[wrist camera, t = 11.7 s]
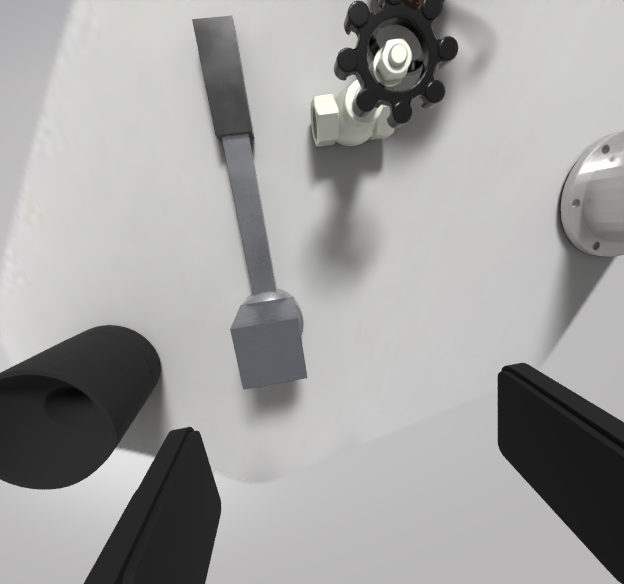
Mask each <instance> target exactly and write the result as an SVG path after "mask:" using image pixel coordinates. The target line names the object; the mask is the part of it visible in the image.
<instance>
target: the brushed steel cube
mask: <svg viewBox="0 0 624 584" xmlns="http://www.w3.org/2000/svg"><path fill="white" fill-rule="evenodd" d="M230 330H231V335H232V339H233V344H234V349H235V353H236V358H237V362H238V367H239V372H240V376H241V381H242V385H243V389H249V388H254V387H260V386H265V385H271V384H276V383H282V382H287V381H293V380H298V379H304V378H307V373H306V366H305V360H304V353H303V347H302V340H301V334H300V327H299V321H298V315H297V310H296V306H295V301H294V297H289V298H282V299H276V300H270V301H264V302H257V303H251V304H245V305H241V306H240V308H239V311H238V313H237V315H236V317H235V320H234V322H233V324H232V327H231V329H230Z"/></svg>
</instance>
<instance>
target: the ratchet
mask: <svg viewBox="0 0 624 584" xmlns="http://www.w3.org/2000/svg"><path fill="white" fill-rule="evenodd" d="M192 21H193V26H194V31H195V36H196V41H197V45H198V50H199V55H200V60H201V65H202V70H203V75H204V80H205V85H206V90H207V95H208V100H209V104H210V109H211V114H212V119H213V124H214V129H215V134H216V136H217V138H218V139H219V141H220V142H222V141H223V146H224V151H225V156H226V161H227V166H228V171H229V176H230V181H231V186H232V191H233V196H234V201H235V206H236V211H237V216H238V221H239V226H240V231H241V236H242V241H243V246H244V251H245V256H246V261H247V266H248V271H249V276H250V281H251V286H252V291H253V294H252V295H250V296H249V297H248V298H247V299H246V300H245V302H244V303H243V305H245V304H251V303H257V302H264V301H270V300H276V299H282V298H289V297H292V296H291V295H290V294H288V293H287V292H285V291H282V290H279V289H276V283H275V277H274V272H273V266H272V261H271V255H270V249H269V244H268V238H267V232H266V227H265V221H264V216H263V210H262V204H261V199H260V193H259V187H258V182H257V176H256V171H255V165H254V159H253V154H252V148H251V142H250V138H254V133H253V128H252V122H251V116H250V110H249V105H248V99H247V93H246V87H245V82H244V76H243V70H242V65H241V59H240V53H239V47H238V42H237V36H236V30H235V26H234V21H233V17H232V16H224V17H213V18H202V19H192ZM294 301H295V306H296V310H297V315H298V321H299V327H300V334H301V335H302V332H303V317H302V313H301V309H300V307H299V305H298V303H297V301H296V300H295V299H294Z"/></svg>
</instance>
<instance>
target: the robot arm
mask: <svg viewBox="0 0 624 584" xmlns="http://www.w3.org/2000/svg"><path fill="white" fill-rule="evenodd" d="M561 220H562V224H563V228H564V231H565V233H566V235H567V237H568V238H569V240H570V241H571V242H572V243H573V245H574V246H576V247H577V248H578V249H580V250H581V251H583V252H585V253H588V254H590V255H596V256H606V257H613V256H619V255H623V254H624V131H622V132H618V133H615V134H612V135H609V136H606V137H605V138H603V139H601V140H600V141H598V142H596V143H595V144H594V145H592V146H591V147H590V148H589V149H588V150H587V151H586V152H585V153H584V154H583V155H582V156H581V157H580V158H579V160H578V161H577V162H576V164H575V166H574V167H573V169H572V170H571V172H570V174H569V176H568V179H567V181H566V183H565V186H564V190H563V194H562V200H561ZM498 446H499V449H500V451H501V453H502V454H503V456H504V457H505V458H506V459H507V460H508V461H509V462H510V463H511V465H512V466H513V467H514V468H515V469H516V470H517V471H518V472H519V473H520V475H521V476H522V477H523V478H524V479H525V480H526V481H527V482H528V483H529V484H530V485H531V486H532V488H534V490H535V491H536V492H537V493H538V494H539V495H540V496H541V498H542V499H543V500H544V501H545V502H546V503H547V504H548V505H549V506H550V507H551V508H552V510H553V511H554V512H555V513H556V514H557V515H558V516H559V517H560V518H561V519H562V521H563V522H564V523H565V524H566V525H567V526H568V527H569V528H570V529H571V530H572V531H573V533H574V534H575V535H576V536H577V537H578V538H579V539H580V540H581V541H582V542H583V543H584V545H586V547H587V548H588V549H589V550H590V551H591V552H592V553H593V554H594V556H595V557H596V558H597V559H598V560H599V561H600V562H601V563H602V564H603V565H604V567H605V568H606V569H607V570H608V571H609V572H610V573H611V574H612V575H613V576H614V577H615V578H616V579H617V580H618V581H619V582H620V583H622V584H624V422H622V421H621V420H619V419H617V418H616V417H614V416H612V415H611V414H609V413H607V412H606V411H604V410H602V409H601V408H599V407H597V406H596V405H594V404H592V403H590V402H589V401H587V400H586V399H584V398H582V397H581V396H579V395H578V394H576V393H574V392H572V391H571V390H569V389H567V388H566V387H564V386H563V385H561V384H559V383H558V382H556V381H554V380H553V379H551V378H549V377H548V376H546V375H544V374H543V373H541V372H539V371H538V370H536V369H534V368H533V367H531V366H530V365H528V364H526V363H518V364H513V365H508V366H504V367H503V368H502V371H501V372H500V373H499V374H498ZM220 515H221V500H220V496H219V493H218V490H217V487H216V483H215V480H214V477H213V474H212V470H211V467H210V464H209V461H208V457H207V454H206V451H205V447H204V444H203V441H202V438H201V435H200V432H199V431H194V429H193V428H192V427H187V428H182V429H177V430H172V431H170V432H169V434H168V435H167V437H166V439H165V441H164V443H163V444H162V446H161V448H160V450H159V452H158V453H157V455H156V457H155V459H154V461H153V462H152V464H151V466H150V468H149V470H148V471H147V473H146V475H145V477H144V479H143V481H142V482H141V484H140V486H139V488H138V489H137V490H136V492H135V493H134V495H133V496H132V498H131V500H130V502H129V503H128V505H127V507H126V509H125V511H124V513H123V514H122V516H121V518H120V520H119V521H118V523H117V525H116V527H115V529H114V530H113V532H112V534H111V536H110V538H109V539H108V541H107V543H106V545H105V547H104V548H103V550H102V552H101V554H100V555H99V557H98V559H97V561H96V563H95V565H94V566H93V568H92V570H91V572H90V573H89V575H88V577H87V579H86V580H85V582H84V584H205V581H206V577H207V573H208V568H209V564H210V559H211V554H212V550H213V546H214V541H215V537H216V533H217V528H218V524H219V519H220Z"/></svg>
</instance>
